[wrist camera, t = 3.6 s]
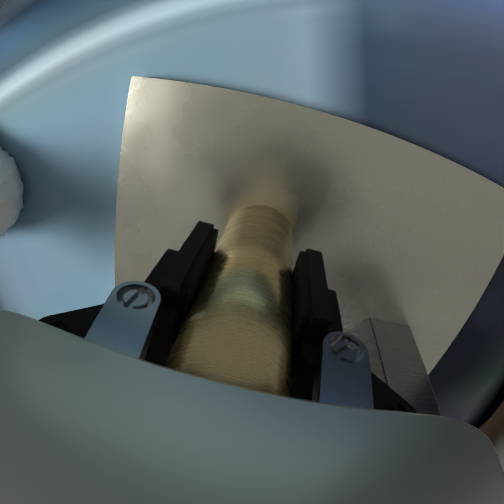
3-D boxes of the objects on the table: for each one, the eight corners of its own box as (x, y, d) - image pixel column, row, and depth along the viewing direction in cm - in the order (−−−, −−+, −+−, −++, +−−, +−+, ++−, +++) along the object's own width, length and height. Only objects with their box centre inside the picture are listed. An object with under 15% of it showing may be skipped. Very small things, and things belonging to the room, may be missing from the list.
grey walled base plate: (343, 454, 25) (345, 530, 18) (131, 410, 25) (100, 484, 18) (515, 194, 13) (613, 267, 6) (143, 76, 13) (16, 78, 5)
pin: (282, 272, 15) (265, 479, 6) (220, 256, 15) (145, 450, 6) (300, 214, 14) (309, 423, 5) (232, 197, 14) (140, 382, 5)
